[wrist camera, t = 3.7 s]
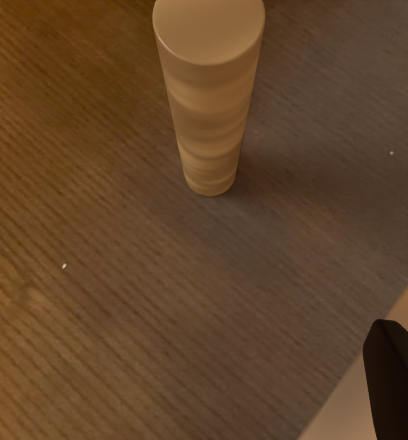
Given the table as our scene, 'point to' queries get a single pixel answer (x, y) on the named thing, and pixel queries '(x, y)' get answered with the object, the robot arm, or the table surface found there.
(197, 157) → the stick
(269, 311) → the table surface
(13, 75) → the table surface
